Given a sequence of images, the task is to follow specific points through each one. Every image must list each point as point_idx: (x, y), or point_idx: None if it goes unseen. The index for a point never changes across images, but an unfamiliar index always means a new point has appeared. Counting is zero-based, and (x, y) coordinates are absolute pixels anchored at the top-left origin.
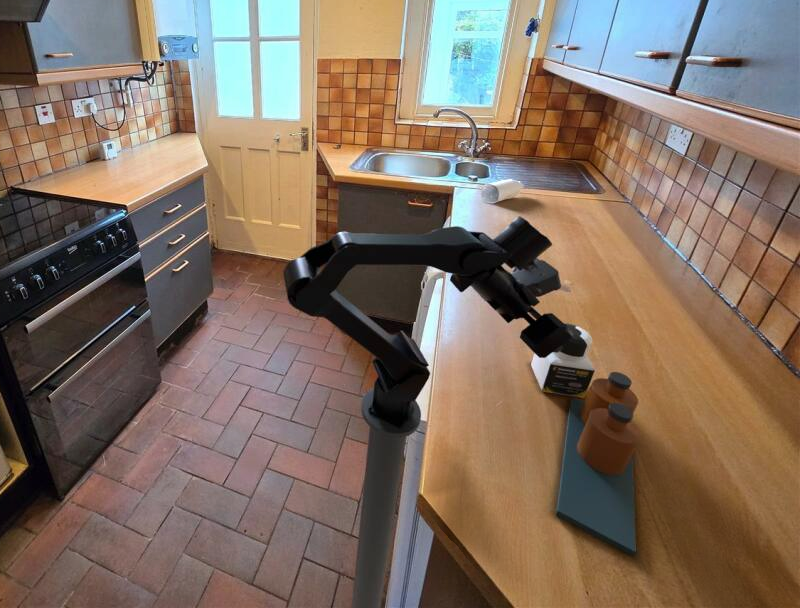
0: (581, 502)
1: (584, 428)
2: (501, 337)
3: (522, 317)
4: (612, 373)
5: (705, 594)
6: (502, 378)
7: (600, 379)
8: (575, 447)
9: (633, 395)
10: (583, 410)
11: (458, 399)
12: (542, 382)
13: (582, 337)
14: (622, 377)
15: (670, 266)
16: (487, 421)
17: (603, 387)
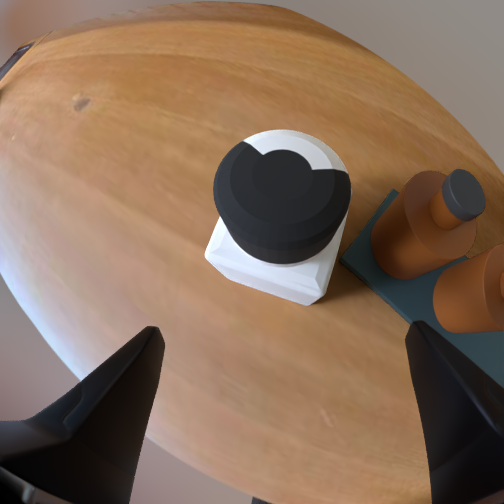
0: (497, 372)
1: (470, 325)
2: (132, 287)
3: (162, 348)
4: (457, 197)
5: None
6: (258, 373)
7: (408, 211)
8: (443, 331)
9: (444, 179)
10: (401, 273)
11: (301, 483)
12: (304, 303)
13: (321, 165)
14: (465, 184)
15: (121, 17)
16: (361, 454)
17: (433, 226)
